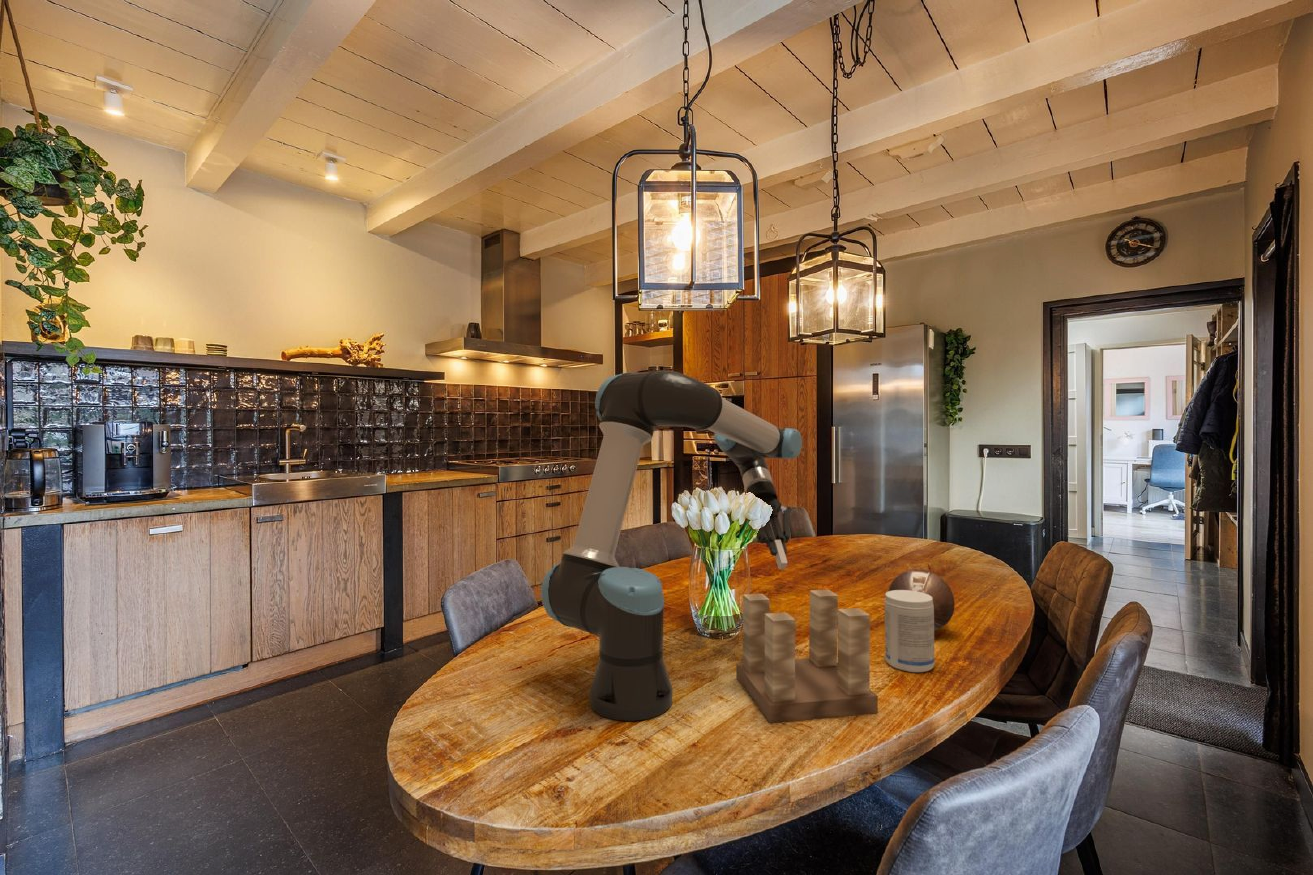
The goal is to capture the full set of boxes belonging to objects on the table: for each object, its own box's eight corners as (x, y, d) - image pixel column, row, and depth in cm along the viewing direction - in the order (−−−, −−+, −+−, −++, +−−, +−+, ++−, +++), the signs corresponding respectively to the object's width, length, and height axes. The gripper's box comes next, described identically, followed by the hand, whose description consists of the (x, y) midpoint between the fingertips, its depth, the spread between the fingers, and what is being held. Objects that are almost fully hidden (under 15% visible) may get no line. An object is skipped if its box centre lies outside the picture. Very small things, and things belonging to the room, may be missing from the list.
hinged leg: (817, 667, 114) (818, 596, 114) (808, 657, 119) (809, 589, 118) (836, 665, 115) (837, 595, 114) (826, 656, 119) (827, 588, 119)
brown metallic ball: (892, 639, 138) (892, 575, 138) (883, 618, 153) (883, 561, 152) (961, 644, 135) (962, 579, 134) (945, 623, 149) (946, 564, 149)
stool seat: (769, 722, 99) (769, 623, 99) (736, 677, 117) (736, 593, 116) (877, 712, 102) (878, 616, 102) (829, 670, 120) (830, 588, 120)
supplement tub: (943, 667, 122) (944, 597, 122) (916, 678, 117) (917, 604, 116) (901, 652, 130) (902, 586, 130) (874, 661, 125) (875, 593, 124)
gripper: (779, 497, 158) (804, 573, 142) (733, 497, 156) (753, 575, 140) (787, 479, 153) (814, 556, 137) (739, 479, 151) (760, 558, 134)
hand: (783, 565), depth 138 cm, fingers closed
